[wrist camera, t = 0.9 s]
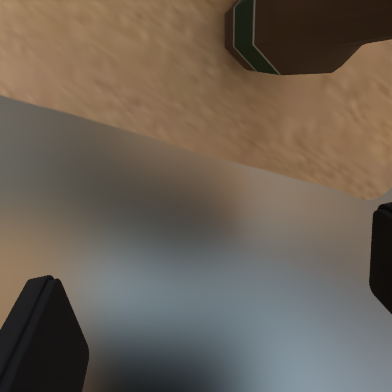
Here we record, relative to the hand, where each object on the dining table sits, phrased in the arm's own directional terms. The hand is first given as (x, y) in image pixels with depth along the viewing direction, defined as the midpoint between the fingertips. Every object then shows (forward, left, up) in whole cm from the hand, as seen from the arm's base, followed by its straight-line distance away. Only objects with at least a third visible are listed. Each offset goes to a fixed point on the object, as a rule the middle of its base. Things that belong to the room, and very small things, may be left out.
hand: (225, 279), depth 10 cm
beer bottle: (-12, +2, -28) cm, 31 cm away
